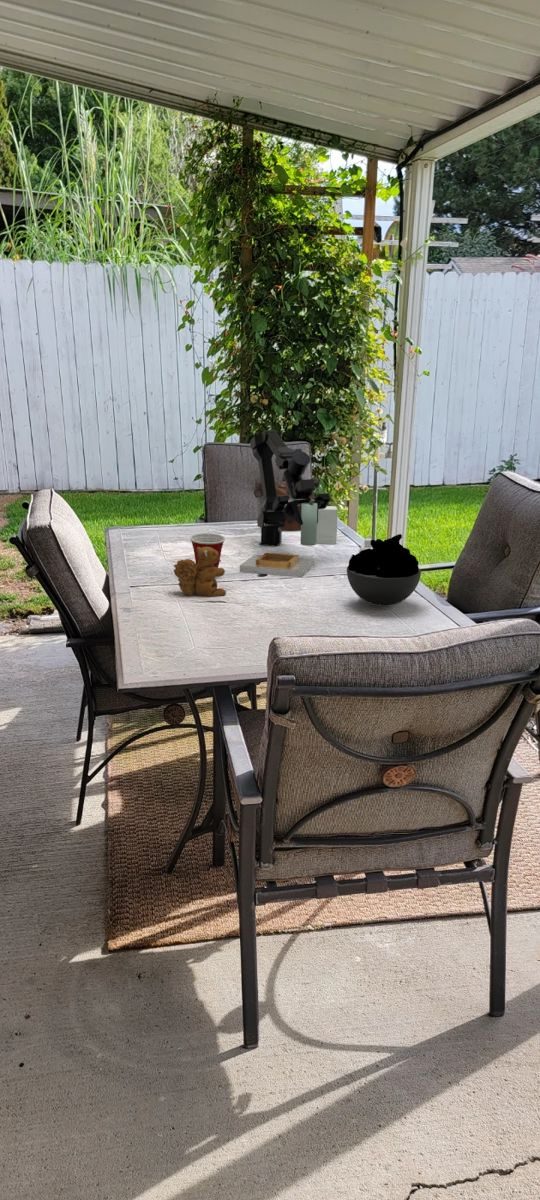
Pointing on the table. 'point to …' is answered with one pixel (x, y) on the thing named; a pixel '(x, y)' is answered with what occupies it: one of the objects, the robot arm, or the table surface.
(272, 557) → the grey flat block
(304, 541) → the spout can
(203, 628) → the table surface
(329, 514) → the supplement box
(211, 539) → the plastic cup
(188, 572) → the stuffed squirrel
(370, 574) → the coal bowl
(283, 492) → the brown wooden pot
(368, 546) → the eye dropper bottle
